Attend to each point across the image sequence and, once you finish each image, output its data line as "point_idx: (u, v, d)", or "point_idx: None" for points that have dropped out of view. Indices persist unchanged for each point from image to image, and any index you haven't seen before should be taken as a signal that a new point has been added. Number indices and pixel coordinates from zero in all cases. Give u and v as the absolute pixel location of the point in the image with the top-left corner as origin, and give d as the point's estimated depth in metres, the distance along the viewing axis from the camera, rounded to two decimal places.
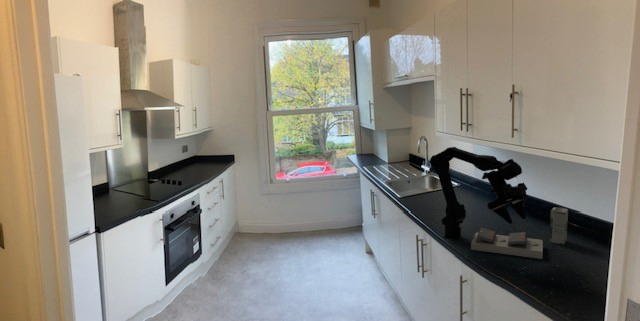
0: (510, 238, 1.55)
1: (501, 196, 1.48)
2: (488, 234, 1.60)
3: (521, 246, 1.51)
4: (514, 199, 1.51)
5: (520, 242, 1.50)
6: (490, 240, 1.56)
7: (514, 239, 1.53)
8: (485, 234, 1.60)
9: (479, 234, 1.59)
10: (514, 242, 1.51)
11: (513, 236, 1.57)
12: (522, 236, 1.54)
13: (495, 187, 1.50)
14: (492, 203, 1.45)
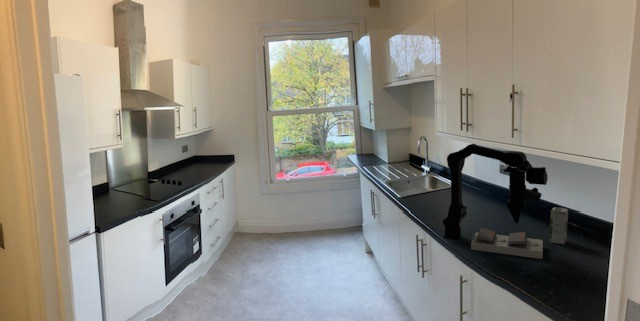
0: (510, 238, 1.55)
1: (518, 196, 1.50)
2: (488, 234, 1.60)
3: (521, 246, 1.51)
4: None
5: (520, 242, 1.50)
6: (490, 240, 1.56)
7: (514, 239, 1.53)
8: (485, 234, 1.60)
9: (479, 234, 1.59)
10: (514, 242, 1.51)
11: (513, 236, 1.57)
12: (522, 236, 1.54)
13: (516, 185, 1.50)
14: (516, 203, 1.45)
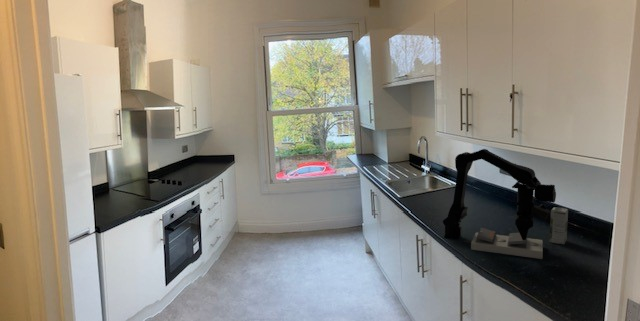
0: (510, 238, 1.55)
1: (526, 212, 1.50)
2: (488, 234, 1.60)
3: (521, 246, 1.51)
4: None
5: (520, 242, 1.50)
6: (490, 240, 1.56)
7: (514, 239, 1.53)
8: (485, 234, 1.60)
9: (479, 234, 1.59)
10: (514, 242, 1.51)
11: (513, 236, 1.57)
12: None
13: (524, 202, 1.50)
14: (524, 221, 1.45)
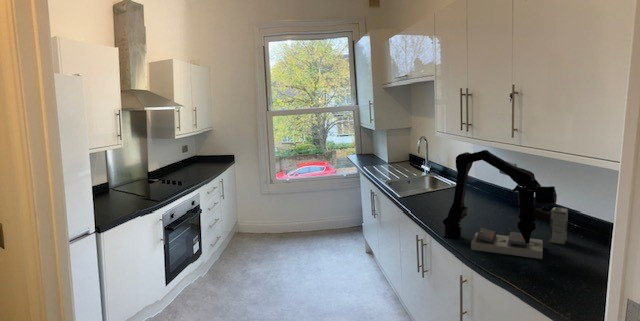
0: (511, 237, 1.55)
1: (527, 215, 1.50)
2: (488, 234, 1.60)
3: (521, 246, 1.51)
4: None
5: (520, 243, 1.50)
6: (490, 240, 1.56)
7: (515, 239, 1.53)
8: (485, 234, 1.60)
9: (479, 234, 1.59)
10: (514, 242, 1.51)
11: (514, 235, 1.57)
12: None
13: (526, 205, 1.50)
14: (526, 223, 1.45)
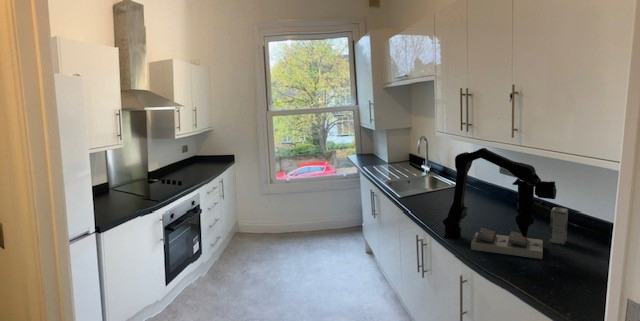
0: (511, 236, 1.55)
1: (526, 209, 1.50)
2: (488, 234, 1.60)
3: (521, 246, 1.51)
4: None
5: (521, 243, 1.50)
6: (490, 240, 1.56)
7: (515, 239, 1.53)
8: (485, 234, 1.60)
9: (479, 234, 1.59)
10: (515, 241, 1.51)
11: (514, 235, 1.57)
12: (523, 238, 1.54)
13: (525, 199, 1.49)
14: (524, 217, 1.45)
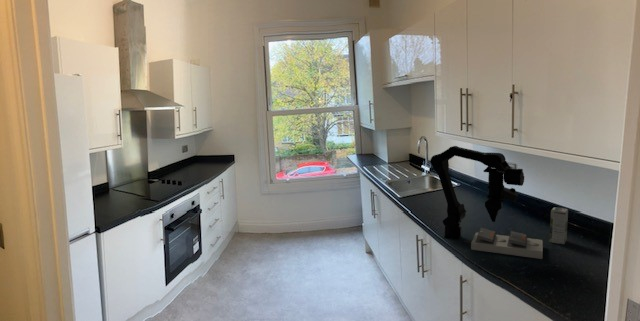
0: (511, 236, 1.55)
1: (495, 195, 1.57)
2: (488, 234, 1.60)
3: (521, 246, 1.51)
4: None
5: (521, 243, 1.50)
6: (490, 240, 1.56)
7: (515, 239, 1.53)
8: (485, 234, 1.60)
9: (479, 234, 1.59)
10: (515, 241, 1.51)
11: (514, 235, 1.57)
12: (523, 238, 1.54)
13: (494, 185, 1.56)
14: (493, 203, 1.51)
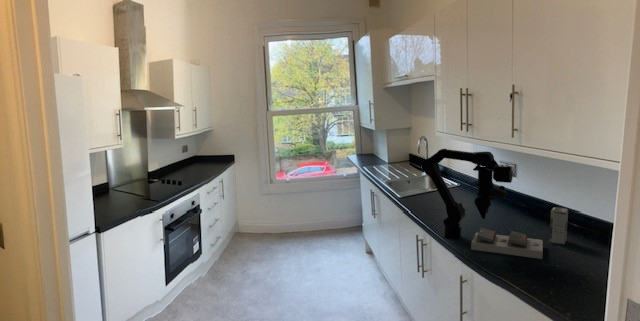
0: (511, 236, 1.55)
1: (485, 193, 1.60)
2: (488, 234, 1.60)
3: (521, 246, 1.51)
4: None
5: (521, 243, 1.50)
6: (490, 240, 1.56)
7: (515, 239, 1.53)
8: (485, 234, 1.60)
9: (479, 234, 1.59)
10: (515, 241, 1.51)
11: (514, 235, 1.57)
12: (523, 238, 1.54)
13: (484, 183, 1.60)
14: (482, 200, 1.55)
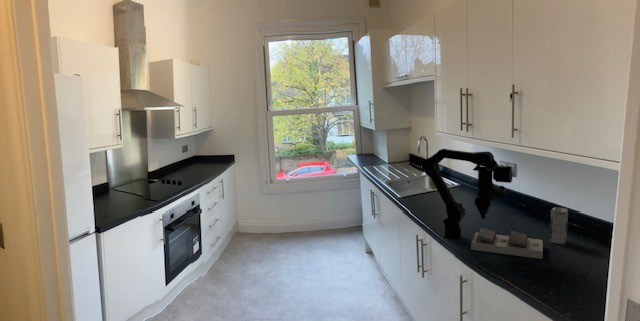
0: (511, 236, 1.55)
1: (485, 193, 1.60)
2: (488, 234, 1.60)
3: (521, 246, 1.51)
4: None
5: (521, 243, 1.50)
6: (490, 240, 1.56)
7: (515, 238, 1.53)
8: (485, 234, 1.60)
9: (479, 234, 1.59)
10: (515, 241, 1.51)
11: (514, 235, 1.57)
12: (523, 238, 1.54)
13: (484, 183, 1.60)
14: (482, 200, 1.55)
